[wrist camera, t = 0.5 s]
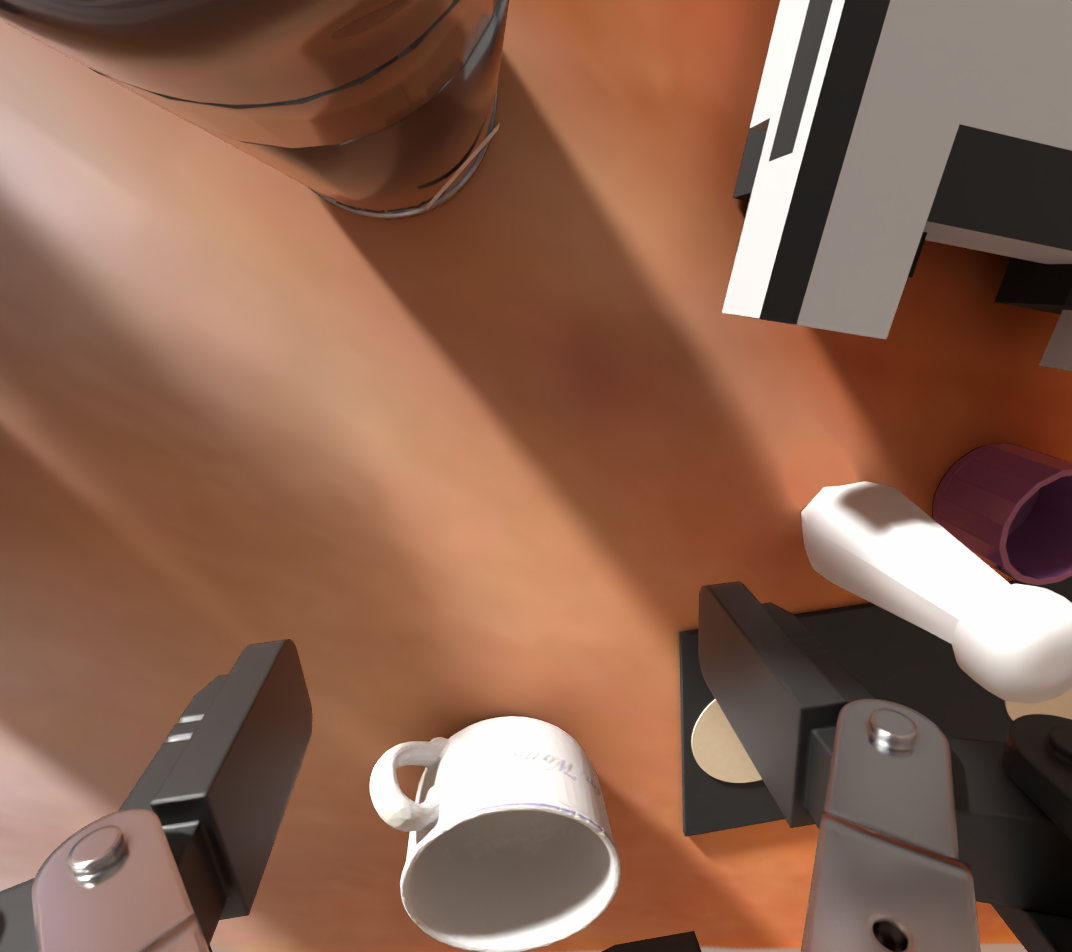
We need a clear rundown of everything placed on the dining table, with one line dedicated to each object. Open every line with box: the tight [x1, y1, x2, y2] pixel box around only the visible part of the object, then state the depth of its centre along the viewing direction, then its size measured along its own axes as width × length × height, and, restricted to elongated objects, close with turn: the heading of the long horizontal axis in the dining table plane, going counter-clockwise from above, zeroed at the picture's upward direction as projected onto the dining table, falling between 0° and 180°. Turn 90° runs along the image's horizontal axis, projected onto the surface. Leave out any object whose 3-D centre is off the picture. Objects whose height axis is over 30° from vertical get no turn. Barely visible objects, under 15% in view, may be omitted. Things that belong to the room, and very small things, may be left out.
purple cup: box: [933, 443, 1072, 585], centre depth 31 cm, size 6×6×4 cm
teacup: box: [370, 716, 621, 952], centre depth 31 cm, size 14×11×8 cm
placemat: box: [680, 576, 1072, 836], centre depth 37 cm, size 16×30×1 cm, turn 96°
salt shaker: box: [801, 481, 1072, 704], centre depth 26 cm, size 6×6×13 cm
